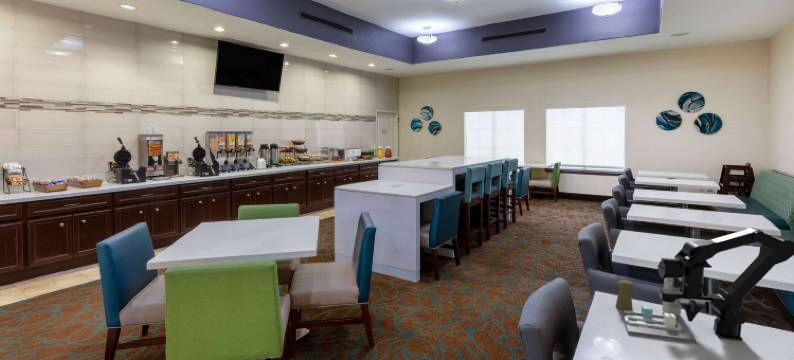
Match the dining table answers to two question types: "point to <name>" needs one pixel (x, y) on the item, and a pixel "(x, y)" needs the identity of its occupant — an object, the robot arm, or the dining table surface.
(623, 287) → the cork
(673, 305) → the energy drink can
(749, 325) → the dining table surface
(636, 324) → the console board
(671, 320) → the fader cap
